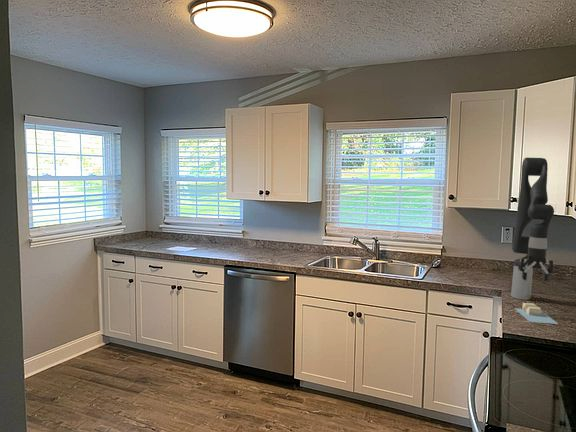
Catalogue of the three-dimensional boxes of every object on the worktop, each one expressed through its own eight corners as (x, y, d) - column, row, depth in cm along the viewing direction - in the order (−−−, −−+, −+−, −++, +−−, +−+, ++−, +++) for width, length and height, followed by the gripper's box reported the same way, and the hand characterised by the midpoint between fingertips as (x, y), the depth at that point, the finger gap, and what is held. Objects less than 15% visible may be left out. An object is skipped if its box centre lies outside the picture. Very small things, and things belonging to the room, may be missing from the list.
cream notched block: (522, 309, 214) (522, 302, 214) (533, 310, 213) (533, 303, 213) (529, 314, 205) (529, 308, 205) (540, 315, 205) (541, 309, 204)
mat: (514, 309, 215) (514, 308, 215) (540, 311, 213) (540, 310, 213) (529, 322, 196) (529, 321, 196) (558, 324, 194) (558, 324, 194)
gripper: (550, 246, 209) (547, 280, 210) (518, 244, 211) (515, 277, 213) (557, 249, 202) (554, 283, 203) (524, 247, 204) (520, 281, 205)
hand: (534, 280), depth 208 cm, fingers open, 8 cm apart
